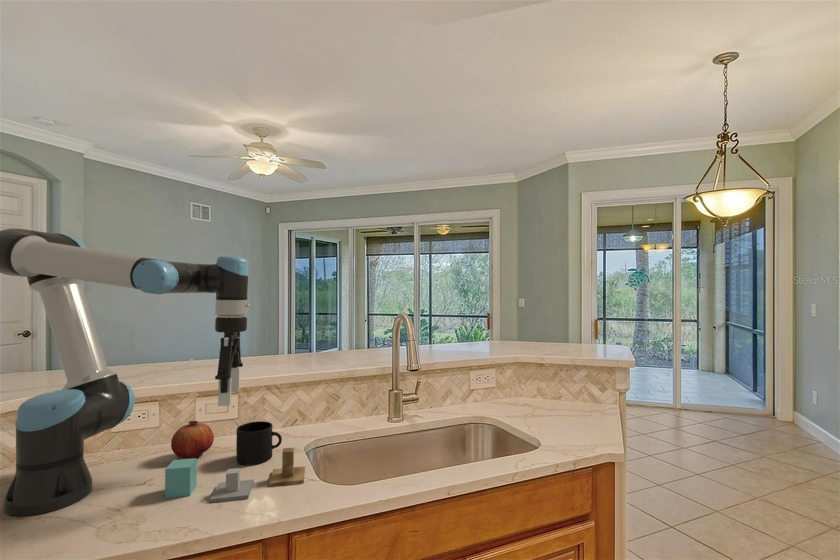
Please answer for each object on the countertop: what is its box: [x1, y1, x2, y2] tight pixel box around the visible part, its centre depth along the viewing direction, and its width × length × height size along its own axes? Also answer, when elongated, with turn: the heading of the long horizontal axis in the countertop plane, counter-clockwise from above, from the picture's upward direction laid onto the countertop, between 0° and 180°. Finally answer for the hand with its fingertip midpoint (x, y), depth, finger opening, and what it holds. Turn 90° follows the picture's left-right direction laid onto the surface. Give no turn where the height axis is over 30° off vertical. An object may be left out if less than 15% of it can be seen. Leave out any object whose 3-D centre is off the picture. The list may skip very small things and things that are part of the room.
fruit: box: [170, 420, 215, 459], centre depth 120 cm, size 11×10×10 cm
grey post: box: [209, 467, 255, 504], centre depth 99 cm, size 8×8×5 cm
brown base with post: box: [268, 447, 306, 488], centre depth 107 cm, size 8×8×7 cm
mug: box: [235, 420, 283, 466], centre depth 119 cm, size 9×12×9 cm
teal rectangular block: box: [164, 457, 198, 499], centre depth 99 cm, size 5×5×7 cm
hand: (229, 398), depth 109 cm, fingers open, 13 cm apart
